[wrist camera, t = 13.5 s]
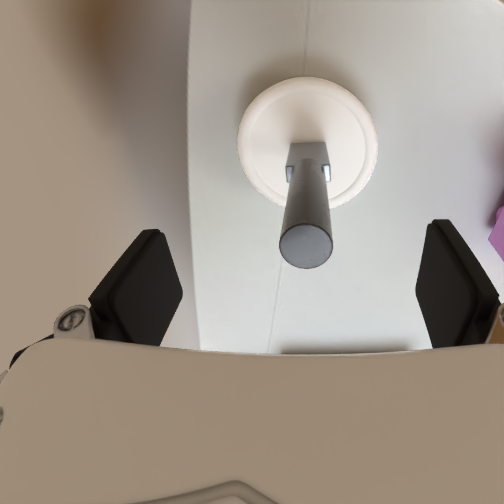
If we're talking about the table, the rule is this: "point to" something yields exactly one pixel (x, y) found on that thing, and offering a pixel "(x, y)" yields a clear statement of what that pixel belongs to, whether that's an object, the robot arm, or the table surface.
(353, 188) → the white round stack
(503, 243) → the teapot
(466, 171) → the table surface
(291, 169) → the grey handled tool
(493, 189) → the table surface
